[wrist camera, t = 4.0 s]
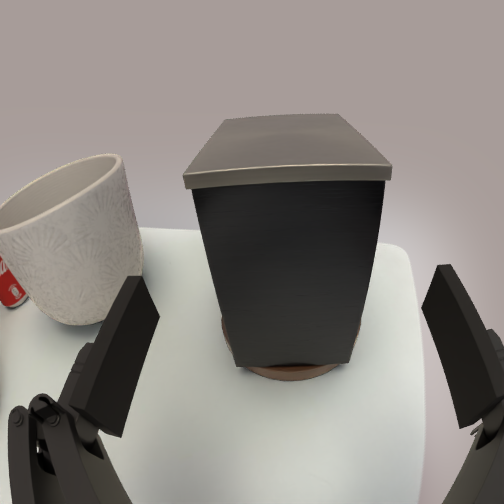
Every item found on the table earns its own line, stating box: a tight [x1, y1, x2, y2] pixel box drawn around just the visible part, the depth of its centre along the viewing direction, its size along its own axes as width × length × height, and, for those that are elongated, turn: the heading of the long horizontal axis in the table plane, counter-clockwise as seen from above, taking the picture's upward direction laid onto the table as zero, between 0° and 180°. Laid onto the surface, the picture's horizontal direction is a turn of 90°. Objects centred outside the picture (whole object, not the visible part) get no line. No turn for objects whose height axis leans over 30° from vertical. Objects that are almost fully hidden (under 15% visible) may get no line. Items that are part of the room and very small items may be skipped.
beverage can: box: [0, 256, 28, 307], centre depth 30 cm, size 6×6×12 cm
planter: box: [0, 154, 144, 325], centre depth 28 cm, size 17×17×15 cm
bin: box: [183, 114, 392, 367], centre depth 22 cm, size 9×14×16 cm, turn 176°
